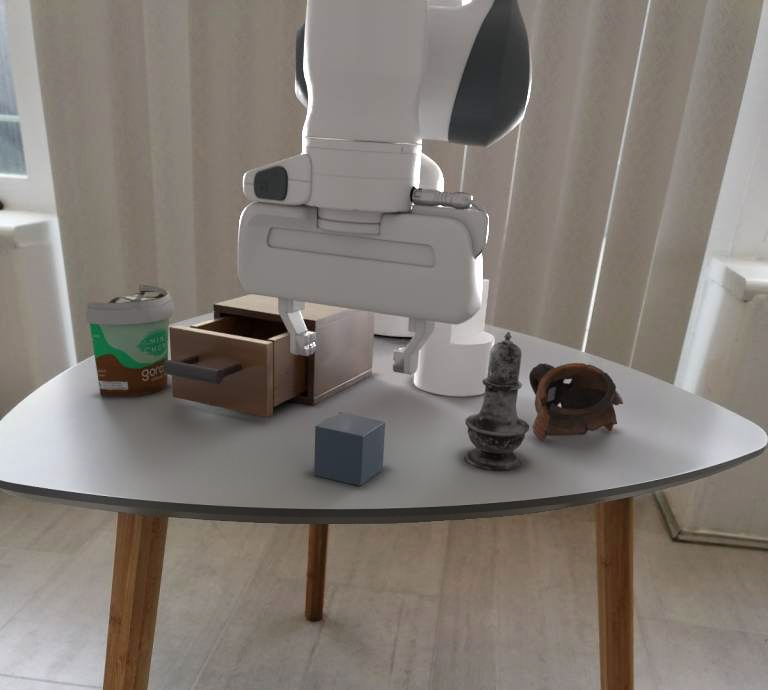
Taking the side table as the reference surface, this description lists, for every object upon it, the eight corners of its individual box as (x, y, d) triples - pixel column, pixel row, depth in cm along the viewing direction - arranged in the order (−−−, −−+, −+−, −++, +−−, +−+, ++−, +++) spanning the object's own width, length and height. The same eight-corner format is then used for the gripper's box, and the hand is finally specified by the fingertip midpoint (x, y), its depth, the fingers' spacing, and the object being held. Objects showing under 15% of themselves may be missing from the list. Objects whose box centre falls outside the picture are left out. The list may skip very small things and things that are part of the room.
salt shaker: (520, 450, 80) (537, 326, 75) (528, 474, 75) (546, 341, 70) (460, 446, 80) (472, 322, 75) (462, 469, 75) (476, 337, 70)
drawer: (240, 431, 78) (238, 354, 75) (142, 409, 82) (137, 335, 79) (331, 385, 93) (333, 320, 90) (245, 368, 98) (244, 305, 94)
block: (337, 459, 76) (339, 411, 74) (382, 469, 74) (385, 421, 72) (313, 475, 72) (314, 426, 70) (360, 486, 70) (362, 436, 68)
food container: (148, 406, 86) (141, 308, 82) (93, 399, 87) (84, 302, 83) (196, 375, 97) (192, 287, 93) (146, 369, 98) (141, 282, 94)
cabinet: (313, 405, 89) (315, 320, 86) (215, 385, 94) (213, 303, 90) (372, 374, 102) (375, 299, 98) (282, 358, 106) (283, 285, 102)
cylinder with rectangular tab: (467, 401, 94) (478, 293, 89) (399, 385, 98) (406, 281, 93) (501, 384, 101) (514, 283, 96) (437, 370, 105) (445, 272, 100)
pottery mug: (639, 442, 86) (645, 385, 80) (570, 491, 84) (570, 437, 77) (559, 383, 93) (558, 327, 86) (493, 428, 91) (487, 373, 84)
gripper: (504, 193, 62) (484, 375, 68) (268, 172, 69) (268, 337, 75) (477, 196, 57) (457, 393, 62) (224, 173, 64) (228, 351, 70)
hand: (352, 362), depth 69 cm, fingers open, 8 cm apart
